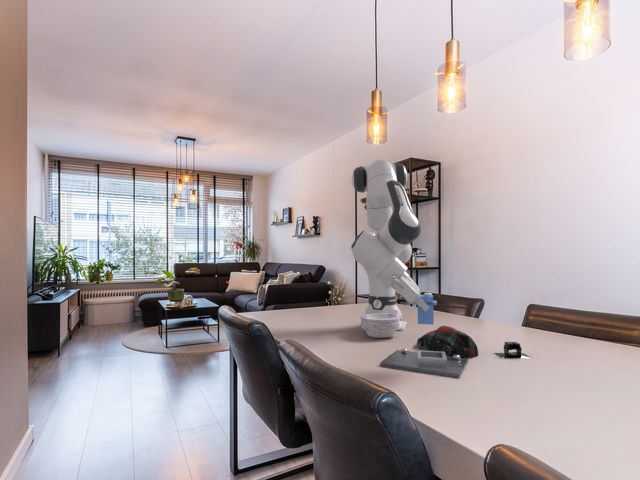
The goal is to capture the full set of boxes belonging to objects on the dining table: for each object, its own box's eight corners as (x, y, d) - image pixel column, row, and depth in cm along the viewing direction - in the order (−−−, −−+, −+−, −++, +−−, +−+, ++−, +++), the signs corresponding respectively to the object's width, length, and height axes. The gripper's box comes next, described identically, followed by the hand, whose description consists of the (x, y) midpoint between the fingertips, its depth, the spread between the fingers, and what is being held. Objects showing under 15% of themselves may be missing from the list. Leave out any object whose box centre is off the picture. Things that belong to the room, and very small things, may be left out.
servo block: (414, 321, 114) (414, 292, 114) (436, 322, 112) (436, 292, 112) (414, 323, 110) (413, 293, 110) (437, 324, 108) (436, 294, 108)
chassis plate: (397, 352, 124) (397, 343, 124) (468, 362, 113) (468, 351, 113) (380, 365, 110) (380, 355, 110) (459, 377, 99) (459, 366, 99)
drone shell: (481, 360, 115) (481, 334, 115) (415, 356, 120) (415, 331, 121) (473, 344, 135) (473, 321, 136) (417, 340, 141) (417, 319, 141)
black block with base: (497, 360, 116) (496, 345, 116) (488, 353, 123) (487, 339, 124) (538, 360, 115) (538, 345, 115) (527, 354, 123) (526, 340, 123)
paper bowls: (355, 333, 154) (355, 313, 154) (388, 330, 158) (388, 311, 158) (371, 341, 139) (370, 320, 139) (407, 338, 144) (407, 317, 144)
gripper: (399, 268, 103) (436, 305, 100) (402, 266, 123) (434, 296, 120) (383, 284, 104) (419, 321, 101) (389, 279, 124) (420, 310, 121)
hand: (427, 308), depth 111 cm, fingers closed on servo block, 4 cm apart
